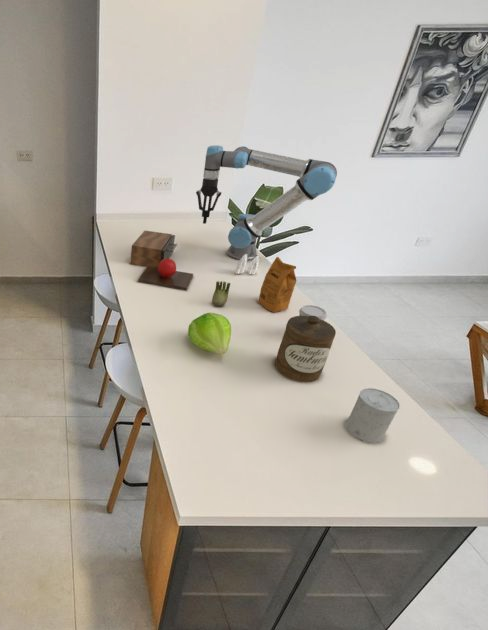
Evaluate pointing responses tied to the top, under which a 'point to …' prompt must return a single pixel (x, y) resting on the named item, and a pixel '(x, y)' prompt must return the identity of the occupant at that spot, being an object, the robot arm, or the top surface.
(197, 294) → the top surface
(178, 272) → the board
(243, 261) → the shaker set
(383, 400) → the grey metal can
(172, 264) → the apple
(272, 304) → the coffee package
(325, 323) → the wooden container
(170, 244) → the drawer
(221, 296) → the fennel bulb
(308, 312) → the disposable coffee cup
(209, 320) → the lettuce
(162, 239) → the cabinet
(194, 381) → the top surface
